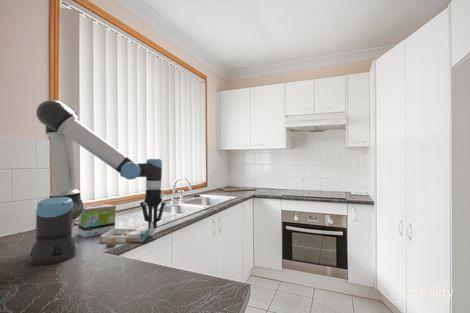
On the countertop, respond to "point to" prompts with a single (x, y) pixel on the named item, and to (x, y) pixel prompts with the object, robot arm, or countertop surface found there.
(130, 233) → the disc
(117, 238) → the dock
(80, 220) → the tea box
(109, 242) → the stand
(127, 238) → the tray
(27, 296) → the countertop surface
